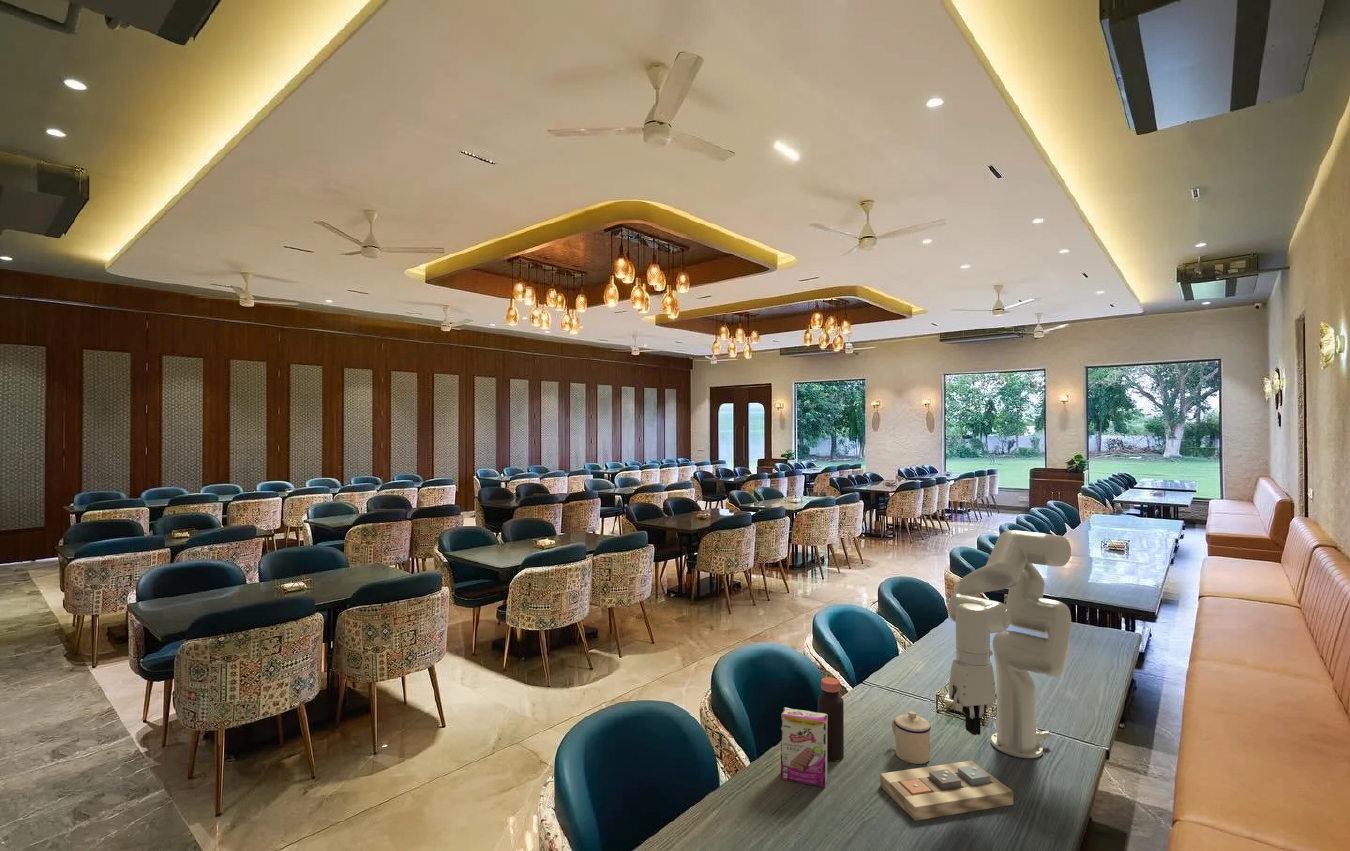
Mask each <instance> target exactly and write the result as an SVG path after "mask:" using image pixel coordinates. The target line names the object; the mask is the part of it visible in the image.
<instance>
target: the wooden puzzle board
mask: <svg viewBox="0 0 1350 851" xmlns="http://www.w3.org/2000/svg"><path fill="white" fill-rule="evenodd" d="M973 765H976V766H977V767H978V768H980V769H981V770H982V771H984V772H985V773H987V774H988V775H989V776H990V784H985V785H978V786H970V785H969V784H968V783H967V782H965V781H964V780H963V779H962V778H960V777H959V776H958V768H959V767H966V766H973ZM945 769H948V770H949V771H950V772H951V773H953V774H954V775H955V776H956V777H958V778H959V779H960V780H961V788H959V789H953V790H946V791H942V790H941V789H939V788H938V787H937V786H936V785H935V784H934V783H932V782H931V781H930V780H929V772H931V771H938V770H945ZM879 776H880V777H879V778H880V782H879V783H880V785H879V786H880V787H881V788H882V789H883V790H884V792H886V793H887V794H888V795H889V796H890V797H891V798H892V799H893V801H895V802H896V803H897V804H898V805H899V806H900V807H901V808H902V809H903V810H904V811H905V812H906V813H907V814H908V815H909V817H911V818H912V819H913V820H914V821H916V822H917V821H920V820H928V819H933V818H939V817H946V816H951V815H957V814H964V813H965V814H966V813H970V812H976V811H983V810H989V809H994V808H1000V807H1007V806H1011V805H1014V791H1013V790H1012V789H1011V788H1009V787H1008V786H1006V785H1005V784H1004V783H1002V782H1000V780H998V779H997V778H996V777H994V776H993V775H992V774H990V773H989V772H988V771H986V770H984V769H983V768H982V767H981V766H979V765H978V764H976V763H975V762H974V761H973V760H967V761H960V762H959V761H958V762H952V763H945V764H939V765H932V766H923V767H916V768H910V769H904V770H896V771H890V772H889V771H888V772H882V773H881V772H880V774H879ZM913 779H919V780H921V781H922V782H923V783H924V784H925V785H926V786H927V787H928V788H930V789H931V790H932V793H927V794H920V795H914V796H912V795H911V794H910V793H909V792H908V791H907V790H906V789H905V788H903V787H902V786H901V785H900V781H906V780H913Z"/></svg>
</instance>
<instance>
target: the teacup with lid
mask: <svg viewBox="0 0 1350 851" xmlns="http://www.w3.org/2000/svg"><path fill="white" fill-rule="evenodd" d="M891 729H892V732H893V735H894V736H895V738H894V739H895V741H894V742H895V754H896V756H897V758H899V759H900V760H902V761H904V762H906V763H909V764H914V765H923V764H926V763H928V762H929V761H930V757H931V747H930V746H931V741H930V740H931V738H930V737H931V736H930V735H931V734H930V733H931V730H932V729H931V724H930V723H929V721H928V720H927V719H925V717H924V718H923V717H921V716H919V715H917V713H916V711H909V712H908V713H906V714H900V715H898V716H896V717H895V718H894V719H893V720H892V721H891Z"/></svg>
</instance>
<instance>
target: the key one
mask: <svg viewBox="0 0 1350 851" xmlns="http://www.w3.org/2000/svg"><path fill="white" fill-rule="evenodd" d="M900 785H901V786H902V787H903V788H905V789H906V790H907V791H908V792H909V793H910V794H911V795H912V796H914V795H920V794H927V793H932V790H931V789H930V788H928V787H927V786H926V785H925V784H924V783H923V782H922V781H921V780H919V779H913V780H906V781H900Z"/></svg>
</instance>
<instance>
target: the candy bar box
mask: <svg viewBox="0 0 1350 851" xmlns="http://www.w3.org/2000/svg"><path fill="white" fill-rule="evenodd" d="M780 716H781V717H780V721H781V722H780V727H781V728H780V739H781V740H780V780H782V781H783V780H784V781H789V782H794V783H799V784H805V785H808V786H809V785H810V786H816V787H820V788H826V784H827V779H828V760H827V726H828V715H827V714H824V713H818V711H817V712H816V711H810V710H804V709H797V708H791V707H783V711H782V712H781V715H780Z"/></svg>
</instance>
